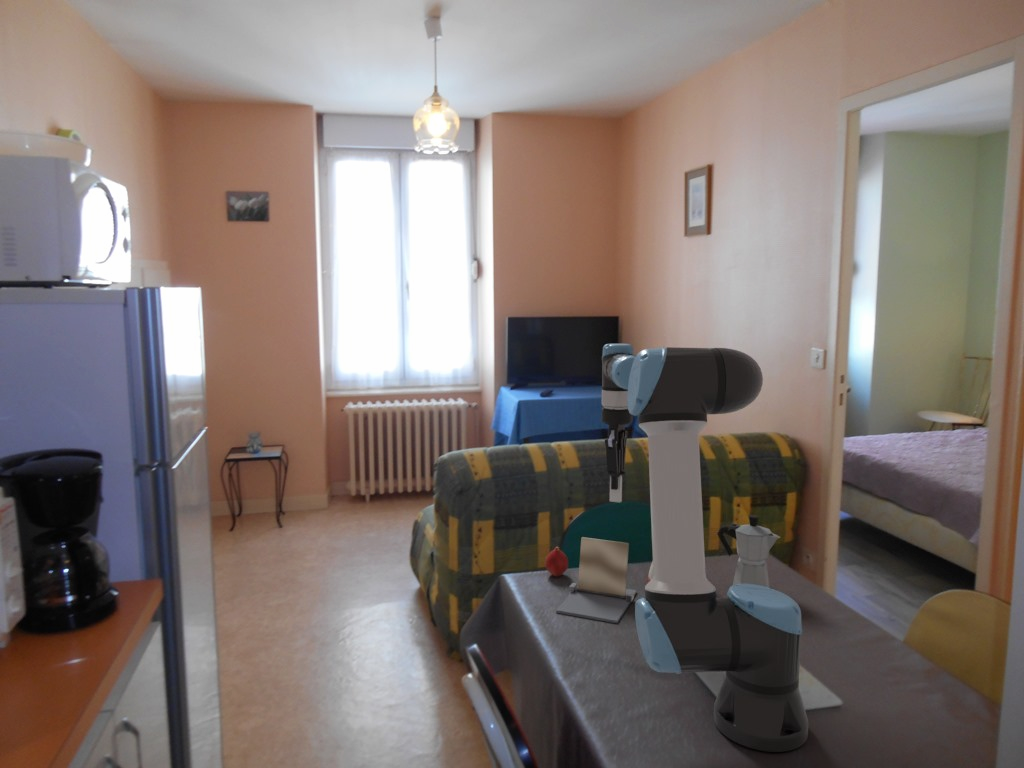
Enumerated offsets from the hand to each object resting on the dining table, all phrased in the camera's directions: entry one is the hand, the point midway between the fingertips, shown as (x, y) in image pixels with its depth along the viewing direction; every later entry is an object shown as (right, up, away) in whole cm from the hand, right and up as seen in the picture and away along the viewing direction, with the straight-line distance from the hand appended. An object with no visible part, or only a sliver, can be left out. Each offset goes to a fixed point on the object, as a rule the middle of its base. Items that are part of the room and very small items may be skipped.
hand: (615, 501), depth 178 cm
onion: (-14, -20, +4) cm, 25 cm away
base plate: (-6, -22, -12) cm, 25 cm away
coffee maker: (+32, -21, -2) cm, 38 cm away
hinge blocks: (-5, -21, -9) cm, 23 cm away
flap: (-4, -14, -8) cm, 17 cm away
